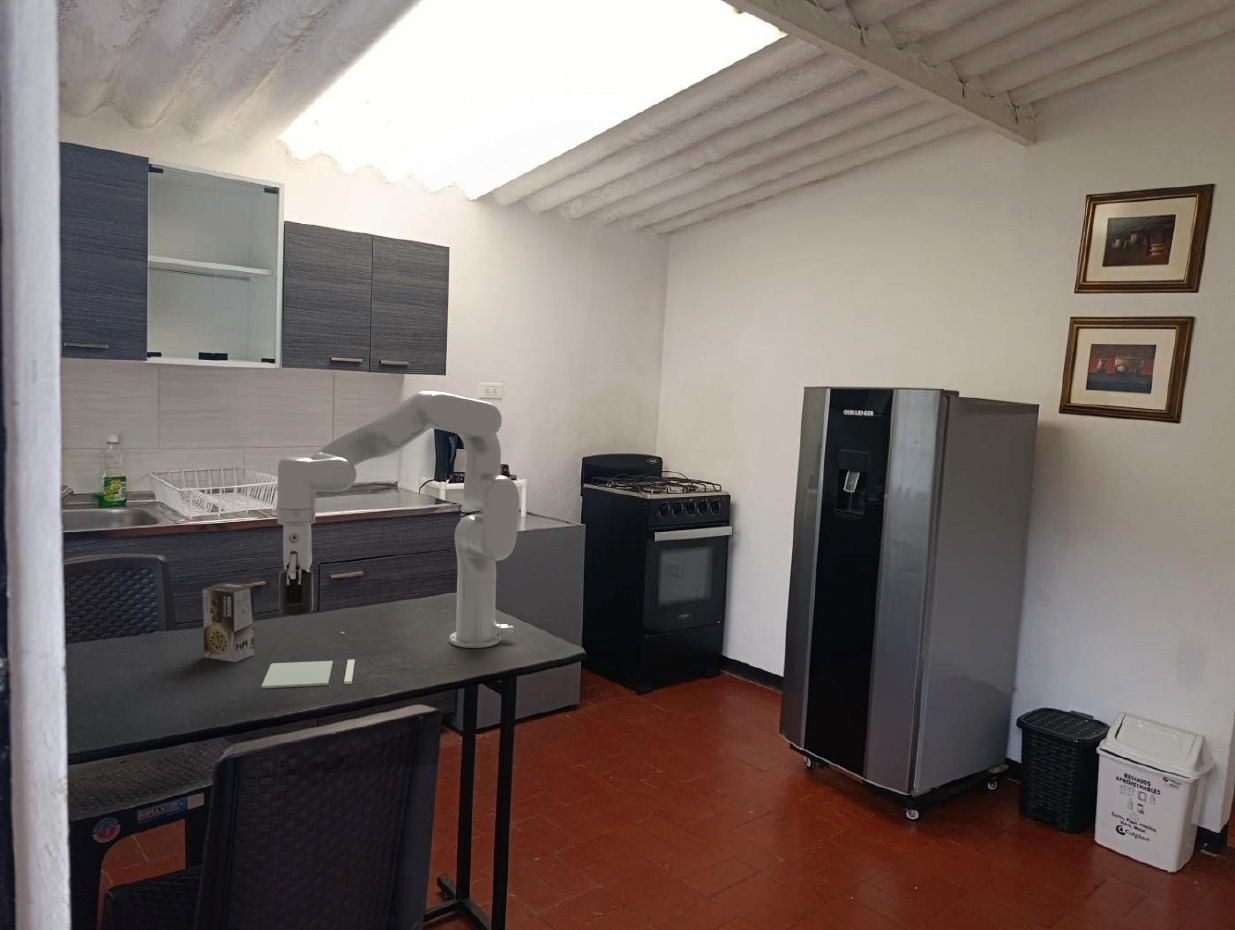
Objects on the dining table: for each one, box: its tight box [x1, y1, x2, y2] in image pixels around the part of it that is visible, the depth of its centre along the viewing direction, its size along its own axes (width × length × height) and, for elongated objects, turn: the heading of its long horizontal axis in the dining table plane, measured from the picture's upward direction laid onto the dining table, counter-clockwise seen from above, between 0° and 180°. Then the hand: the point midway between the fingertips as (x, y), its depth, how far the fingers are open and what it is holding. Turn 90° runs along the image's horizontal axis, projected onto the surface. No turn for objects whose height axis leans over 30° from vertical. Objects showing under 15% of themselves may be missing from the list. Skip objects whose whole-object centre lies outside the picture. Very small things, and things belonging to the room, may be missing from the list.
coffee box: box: [202, 582, 255, 663], centre depth 192 cm, size 9×6×16 cm
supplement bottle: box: [278, 556, 314, 617], centre depth 181 cm, size 7×7×12 cm
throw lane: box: [261, 659, 356, 689], centre depth 184 cm, size 18×14×1 cm
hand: (296, 597), depth 181 cm, fingers closed on supplement bottle, 6 cm apart
